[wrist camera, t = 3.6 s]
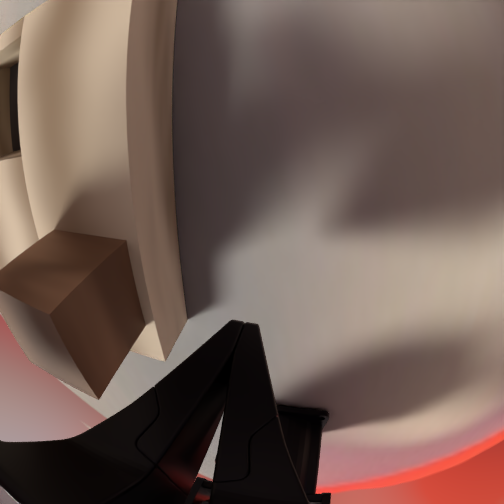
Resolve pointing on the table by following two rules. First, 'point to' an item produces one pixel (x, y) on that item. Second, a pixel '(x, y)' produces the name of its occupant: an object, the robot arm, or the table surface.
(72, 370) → the walnut block
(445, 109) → the table surface
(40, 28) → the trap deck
